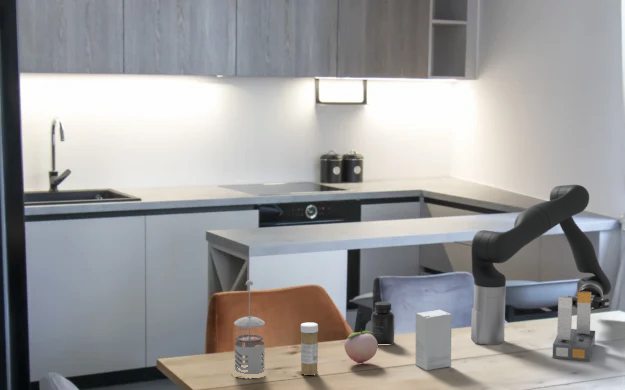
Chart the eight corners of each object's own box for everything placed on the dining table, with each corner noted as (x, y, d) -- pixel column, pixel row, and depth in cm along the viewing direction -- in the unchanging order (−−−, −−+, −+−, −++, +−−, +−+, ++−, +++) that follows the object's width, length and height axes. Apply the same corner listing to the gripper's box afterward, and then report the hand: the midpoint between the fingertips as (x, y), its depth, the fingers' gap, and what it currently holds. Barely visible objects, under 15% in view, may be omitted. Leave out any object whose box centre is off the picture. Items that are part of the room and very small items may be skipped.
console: (589, 361, 256) (590, 346, 255) (552, 358, 259) (552, 343, 259) (594, 344, 275) (595, 329, 274) (560, 340, 278) (560, 326, 278)
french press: (239, 381, 237) (239, 285, 234) (222, 369, 247) (222, 277, 245) (274, 376, 241) (274, 281, 239) (256, 365, 252) (256, 274, 249)
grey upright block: (570, 339, 261) (571, 298, 260) (557, 338, 263) (558, 297, 261) (570, 338, 263) (572, 296, 262) (558, 337, 264) (559, 295, 263)
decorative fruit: (362, 371, 246) (362, 334, 245) (339, 365, 252) (339, 329, 251) (384, 363, 253) (384, 328, 252) (361, 358, 259) (361, 323, 258)
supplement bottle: (382, 338, 280) (382, 299, 279) (398, 343, 275) (399, 303, 274) (366, 342, 275) (366, 303, 274) (383, 347, 270) (383, 307, 269)
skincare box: (439, 361, 255) (440, 308, 254) (452, 367, 250) (453, 313, 249) (413, 365, 252) (414, 311, 250) (425, 371, 246) (426, 316, 245)
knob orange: (589, 334, 268) (590, 293, 267) (576, 332, 269) (577, 292, 268) (589, 332, 270) (591, 291, 269) (577, 331, 271) (578, 291, 270)
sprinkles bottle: (310, 370, 247) (310, 321, 245) (321, 374, 243) (321, 324, 242) (297, 373, 244) (297, 323, 242) (307, 377, 240) (308, 326, 239)
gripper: (568, 283, 294) (563, 293, 277) (612, 286, 289) (609, 297, 273) (568, 306, 294) (562, 318, 278) (611, 309, 290) (608, 321, 274)
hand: (585, 307), depth 276 cm, fingers closed
